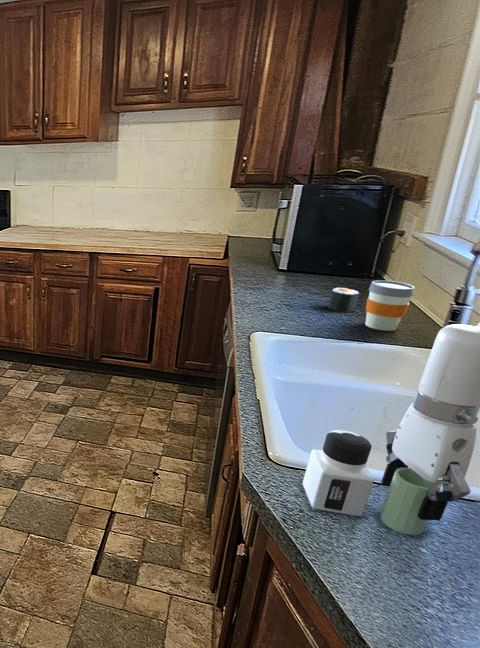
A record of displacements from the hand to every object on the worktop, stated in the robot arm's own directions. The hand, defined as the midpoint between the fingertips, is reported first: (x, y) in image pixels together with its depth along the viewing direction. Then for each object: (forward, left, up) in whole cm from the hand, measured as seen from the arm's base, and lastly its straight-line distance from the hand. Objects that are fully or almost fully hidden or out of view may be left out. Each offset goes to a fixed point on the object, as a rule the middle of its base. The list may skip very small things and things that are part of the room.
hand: (409, 500), depth 86 cm
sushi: (-61, -127, -5) cm, 141 cm away
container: (+8, -6, -5) cm, 11 cm away
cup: (0, 0, -5) cm, 5 cm away
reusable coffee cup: (-63, -106, -5) cm, 124 cm away
